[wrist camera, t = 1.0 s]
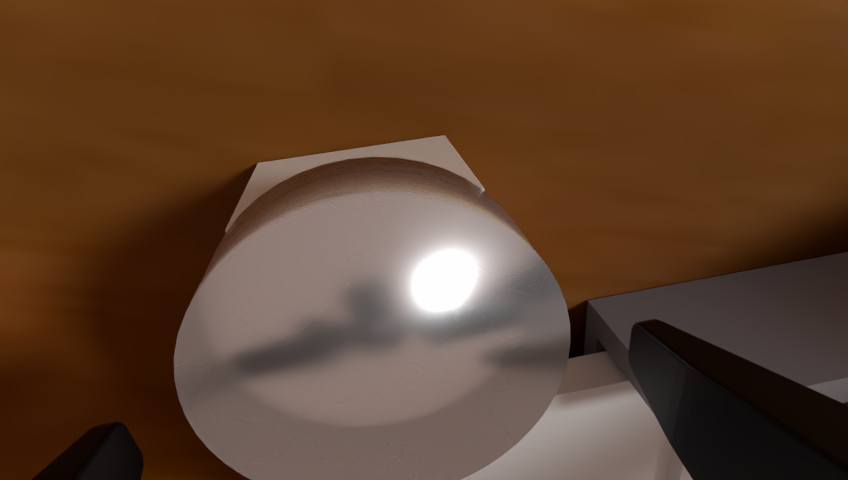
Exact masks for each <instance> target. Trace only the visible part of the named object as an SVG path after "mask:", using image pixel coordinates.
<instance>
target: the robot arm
mask: <svg viewBox="0 0 848 480" xmlns="http://www.w3.org/2000/svg"><path fill="white" fill-rule="evenodd" d="M628 362H629V366H630V368H631V371H632V373H633V374H634V376H635V378H636V380H637V382H638V384H639V386H640V388H641V390H642V392H643V394H644V396H645V398H646V399H647V401H648V403H649V405H650V407H651V409H652V411H653V413H654V415H655V417H656V419H657V421H658V423H659V425H660V426H661V428H662V430H663V432H664V434H665V436H666V438H667V439H668V441H669V443H670V445H671V446H672V448H673V450H674V451H675V453H676V455H677V456H678V458H679V459H680V461H681V462H682V464H683V465H684V467H685V468H686V470H687V472H688V473H689V475H690V476H691V478H692V479H693V480H848V405H846V404H844V403H841V402H839V401H837V400H835V399H833V398H830V397H828V396H826V395H824V394H821V393H819V392H817V391H815V390H813V389H810V388H808V387H806V386H804V385H802V384H799V383H797V382H795V381H793V380H791V379H788V378H786V377H784V376H782V375H780V374H777V373H775V372H773V371H771V370H769V369H766V368H764V367H762V366H760V365H758V364H755V363H753V362H751V361H749V360H747V359H744V358H742V357H740V356H738V355H736V354H733V353H731V352H729V351H727V350H725V349H722V348H720V347H718V346H716V345H714V344H711V343H709V342H707V341H705V340H703V339H700V338H698V337H696V336H694V335H692V334H689V333H687V332H685V331H683V330H681V329H678V328H676V327H674V326H672V325H669V324H667V323H665V322H663V321H661V320H658V319H650V320H645V321H640V322H636V323H635V324H634V325H633V326H632V330H631V337H630V344H629V352H628ZM142 470H143V456H142V453H141V451H140V449H139V447H138V446H137V444H136V442H135V441H134V439H133V437H132V436H131V434H130V432H129V431H128V429H127V427H126V426H125V425H124V424H123V423H121V422H114V423H108V424H103V425H98V426H95V427H93V428H91V429H90V430H88V431H87V432H86V433H85V434H84V435H83V436H81V437H80V438H79V439H78V440H77V441H76V442H75V443H73V444H72V445H71V446H70V447H69V448H68V449H66V450H65V451H64V452H63V453H62V454H61V455H59V456H58V457H57V458H56V459H55V460H54V461H53V462H51V463H50V464H49V465H48V466H47V467H46V468H44V469H43V470H42V471H41V472H40V473H39V474H38V475H36V476H35V477H34V478H33V479H32V480H141V475H142Z"/></svg>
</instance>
